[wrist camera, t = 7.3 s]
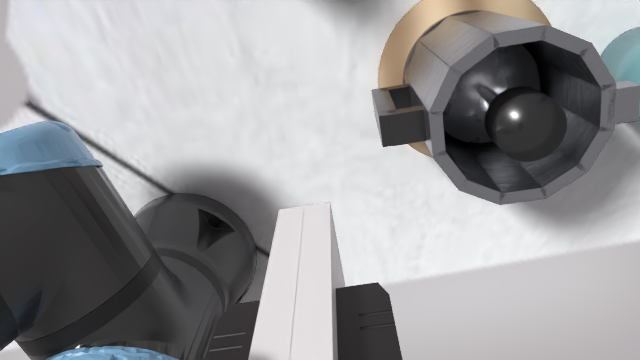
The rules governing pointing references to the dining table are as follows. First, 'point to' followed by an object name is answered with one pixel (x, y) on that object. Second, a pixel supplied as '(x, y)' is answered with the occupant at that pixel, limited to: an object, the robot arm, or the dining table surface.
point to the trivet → (431, 9)
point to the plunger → (506, 106)
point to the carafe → (555, 82)
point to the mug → (624, 57)
